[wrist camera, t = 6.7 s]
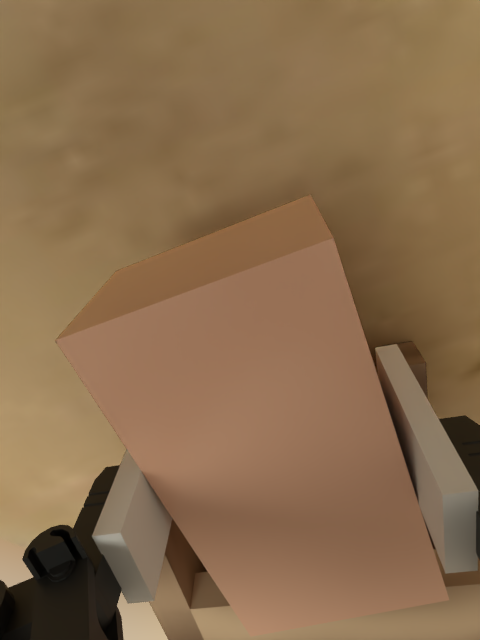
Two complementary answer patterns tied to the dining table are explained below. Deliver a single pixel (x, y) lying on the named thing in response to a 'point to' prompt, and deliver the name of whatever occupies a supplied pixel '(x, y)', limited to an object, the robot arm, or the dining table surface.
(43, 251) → the dining table surface
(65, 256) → the dining table surface
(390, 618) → the dock
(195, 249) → the pink rectangular block
